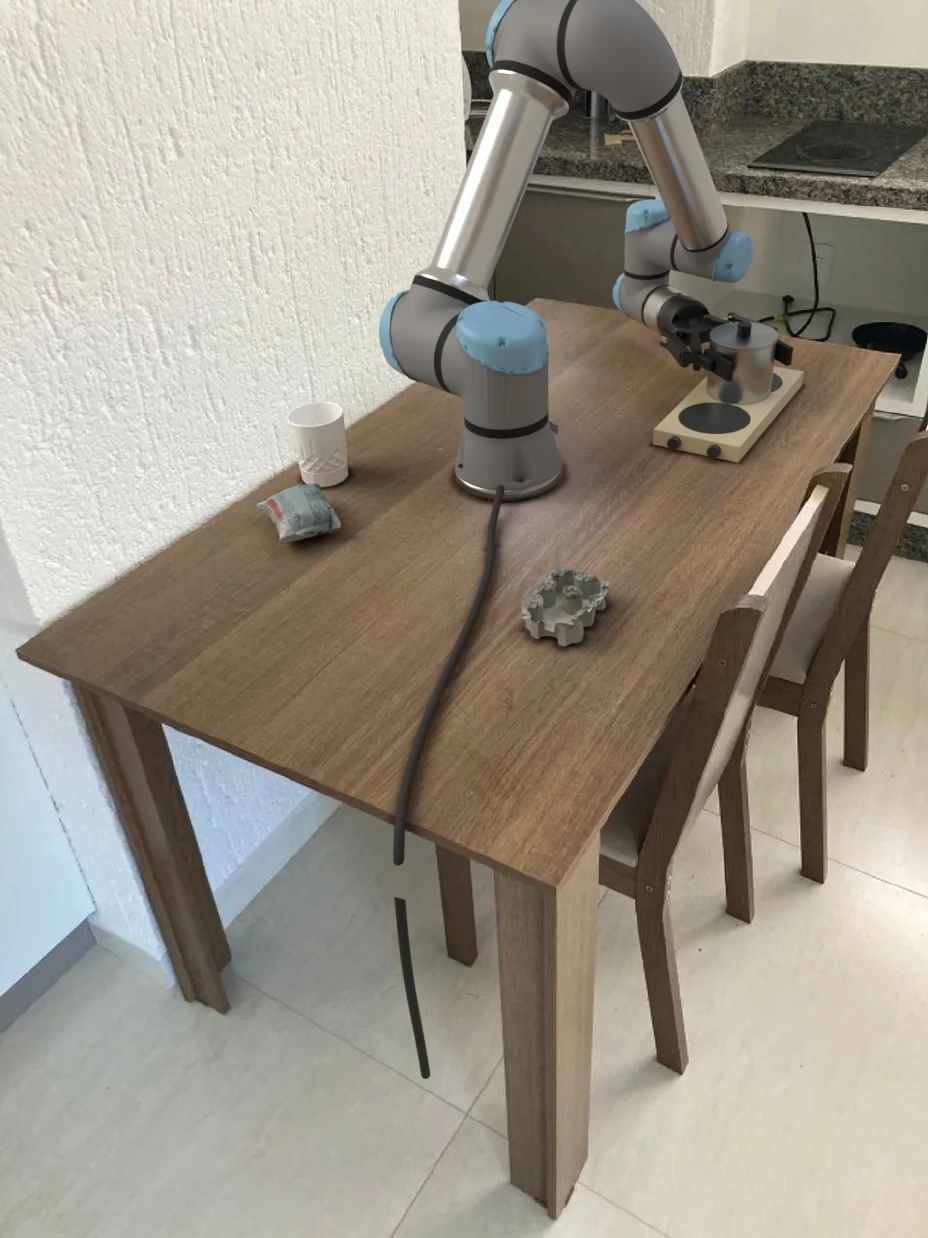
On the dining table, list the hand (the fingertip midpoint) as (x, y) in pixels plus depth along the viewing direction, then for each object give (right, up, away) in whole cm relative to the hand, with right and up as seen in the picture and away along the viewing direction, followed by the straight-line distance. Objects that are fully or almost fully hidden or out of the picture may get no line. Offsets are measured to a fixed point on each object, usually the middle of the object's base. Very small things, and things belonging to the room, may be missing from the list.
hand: (760, 364), depth 149 cm
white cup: (-64, -17, 0) cm, 66 cm away
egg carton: (-32, -37, -31) cm, 58 cm away
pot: (-1, -2, +7) cm, 8 cm away
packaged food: (-66, -25, -12) cm, 71 cm away
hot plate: (-3, -6, +7) cm, 9 cm away
